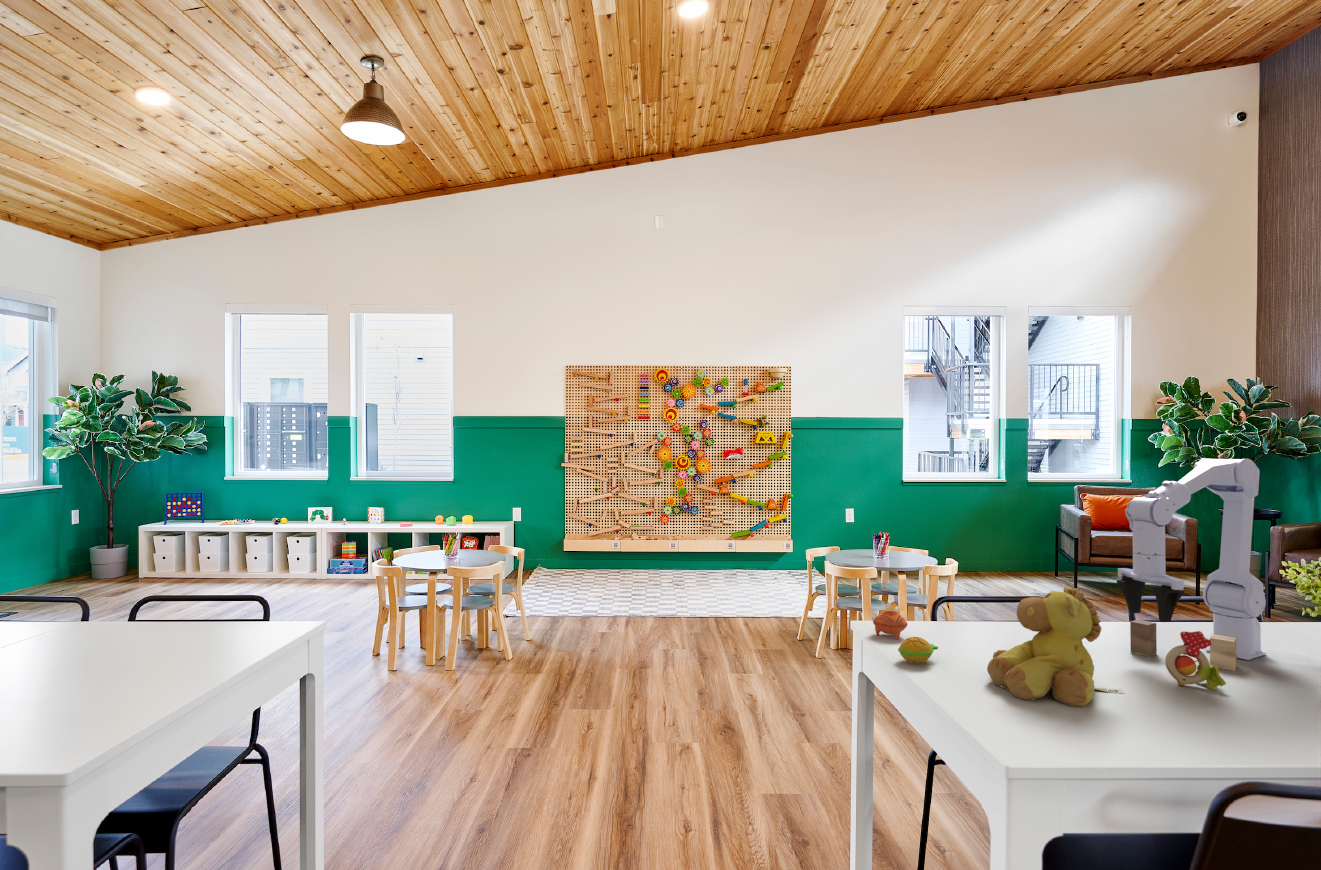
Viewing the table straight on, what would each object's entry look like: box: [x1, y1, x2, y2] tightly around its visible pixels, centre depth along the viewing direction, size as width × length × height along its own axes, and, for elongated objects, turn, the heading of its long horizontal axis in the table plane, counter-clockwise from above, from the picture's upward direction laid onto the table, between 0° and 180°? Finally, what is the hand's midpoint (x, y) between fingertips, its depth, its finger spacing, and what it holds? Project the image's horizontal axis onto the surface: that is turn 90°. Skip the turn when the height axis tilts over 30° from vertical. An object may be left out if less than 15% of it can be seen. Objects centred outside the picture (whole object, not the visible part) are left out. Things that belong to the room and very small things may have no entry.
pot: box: [872, 610, 908, 640], centre depth 167 cm, size 8×8×7 cm
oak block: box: [1209, 634, 1238, 671], centre depth 146 cm, size 4×4×6 cm
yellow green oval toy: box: [897, 636, 939, 665], centre depth 148 cm, size 7×10×5 cm
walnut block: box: [1129, 619, 1158, 657], centre depth 154 cm, size 4×4×7 cm
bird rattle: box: [1164, 630, 1227, 691], centre depth 133 cm, size 6×11×9 cm
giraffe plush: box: [986, 586, 1125, 707], centre depth 131 cm, size 20×24×19 cm
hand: (1149, 616), depth 147 cm, fingers open, 7 cm apart
